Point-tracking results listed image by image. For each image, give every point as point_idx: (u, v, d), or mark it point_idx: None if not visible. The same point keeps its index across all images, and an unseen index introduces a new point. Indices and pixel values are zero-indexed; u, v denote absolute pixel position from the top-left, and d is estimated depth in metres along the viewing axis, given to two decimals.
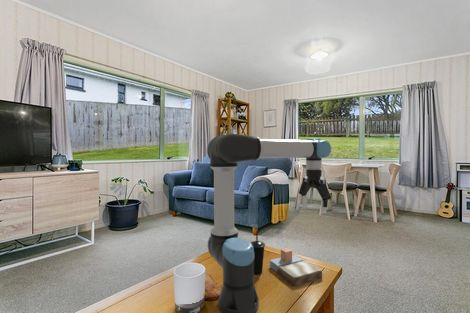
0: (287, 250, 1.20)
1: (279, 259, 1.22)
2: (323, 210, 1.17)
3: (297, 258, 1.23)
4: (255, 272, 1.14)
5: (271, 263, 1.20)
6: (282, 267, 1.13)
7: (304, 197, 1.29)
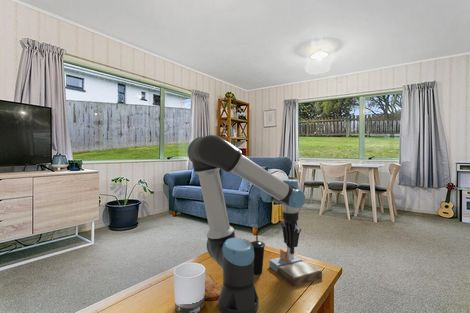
0: None
1: (278, 259, 1.23)
2: (290, 257, 1.18)
3: (296, 258, 1.24)
4: (255, 272, 1.14)
5: (270, 263, 1.21)
6: (282, 267, 1.13)
7: None
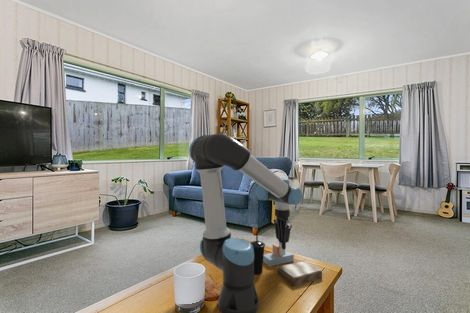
0: None
1: (271, 254, 1.29)
2: (282, 252, 1.24)
3: (288, 253, 1.30)
4: (255, 272, 1.14)
5: (263, 257, 1.27)
6: (282, 267, 1.13)
7: None
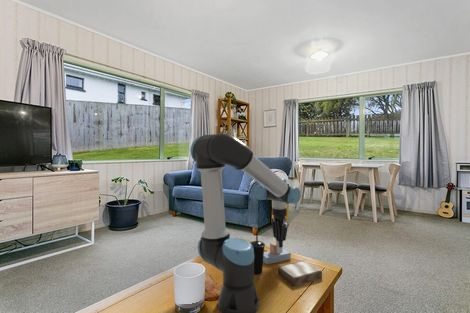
0: None
1: (268, 252, 1.31)
2: (279, 250, 1.26)
3: (285, 251, 1.32)
4: (255, 272, 1.14)
5: None
6: (282, 267, 1.13)
7: None
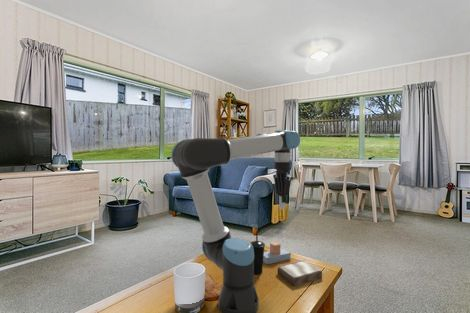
0: (276, 244, 1.29)
1: (268, 252, 1.31)
2: (282, 206, 1.20)
3: (285, 251, 1.32)
4: (255, 272, 1.14)
5: None
6: (282, 267, 1.13)
7: None
